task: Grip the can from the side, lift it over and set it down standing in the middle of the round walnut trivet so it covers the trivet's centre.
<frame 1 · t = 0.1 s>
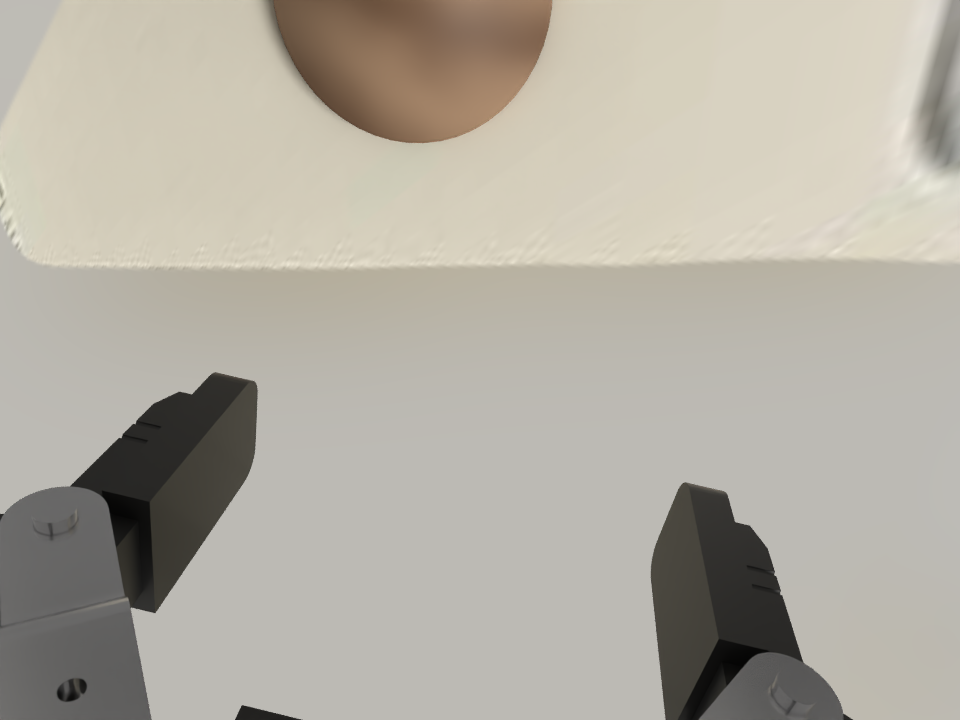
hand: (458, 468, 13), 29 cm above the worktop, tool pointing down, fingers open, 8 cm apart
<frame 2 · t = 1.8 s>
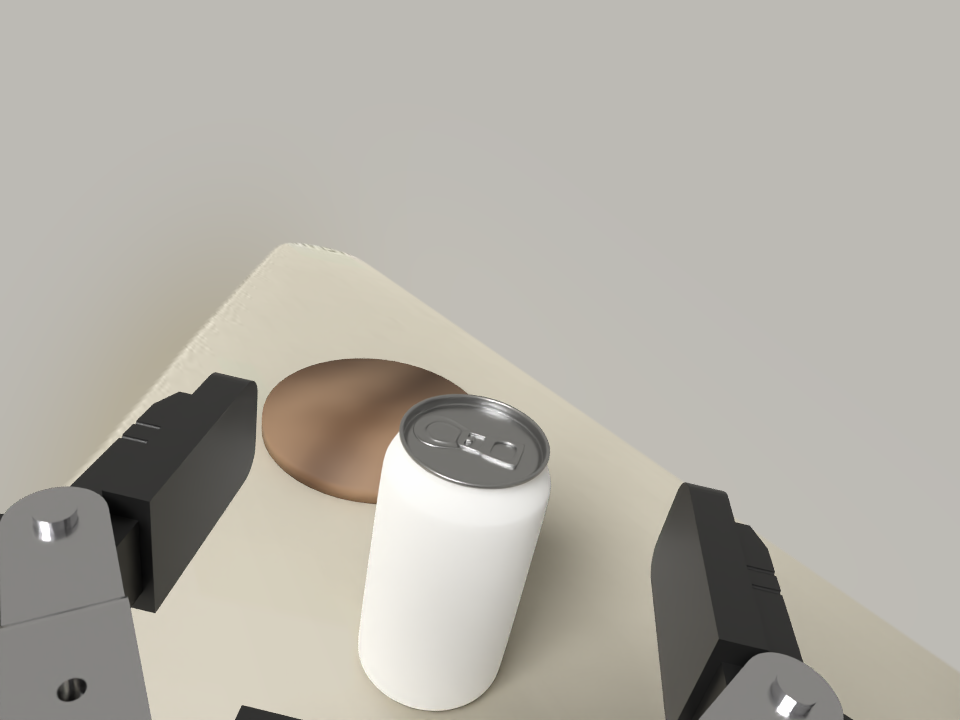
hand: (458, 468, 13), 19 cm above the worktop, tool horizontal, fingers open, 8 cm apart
can: (428, 653, 33), on the worktop
trivet: (376, 428, 46), on the worktop
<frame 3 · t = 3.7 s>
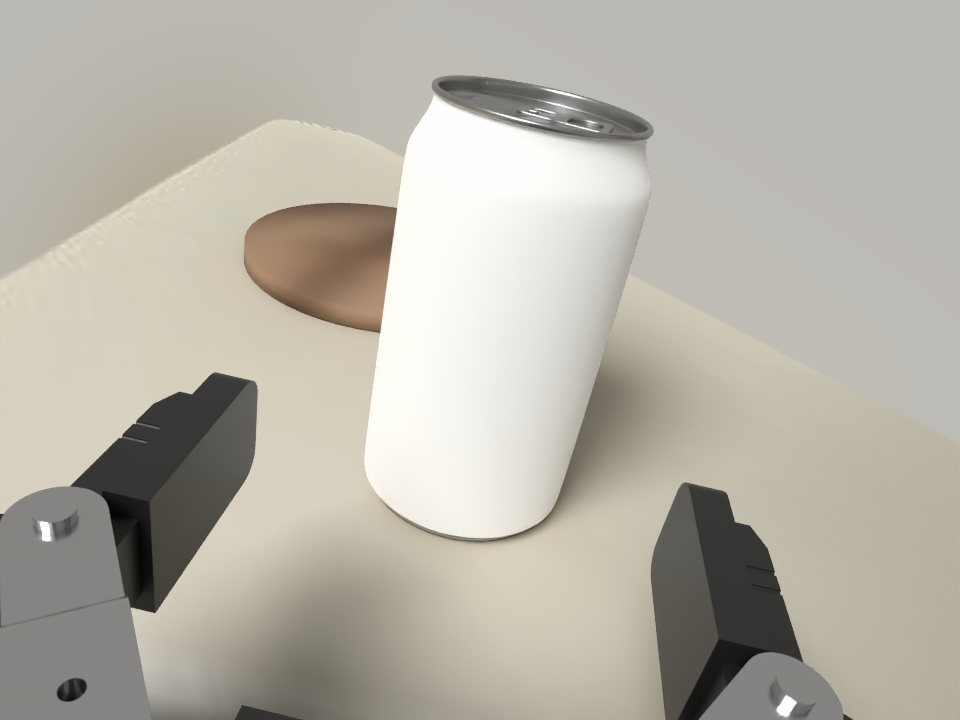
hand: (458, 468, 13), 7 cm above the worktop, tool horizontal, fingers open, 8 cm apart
can: (459, 482, 24), on the worktop
trivet: (386, 268, 37), on the worktop
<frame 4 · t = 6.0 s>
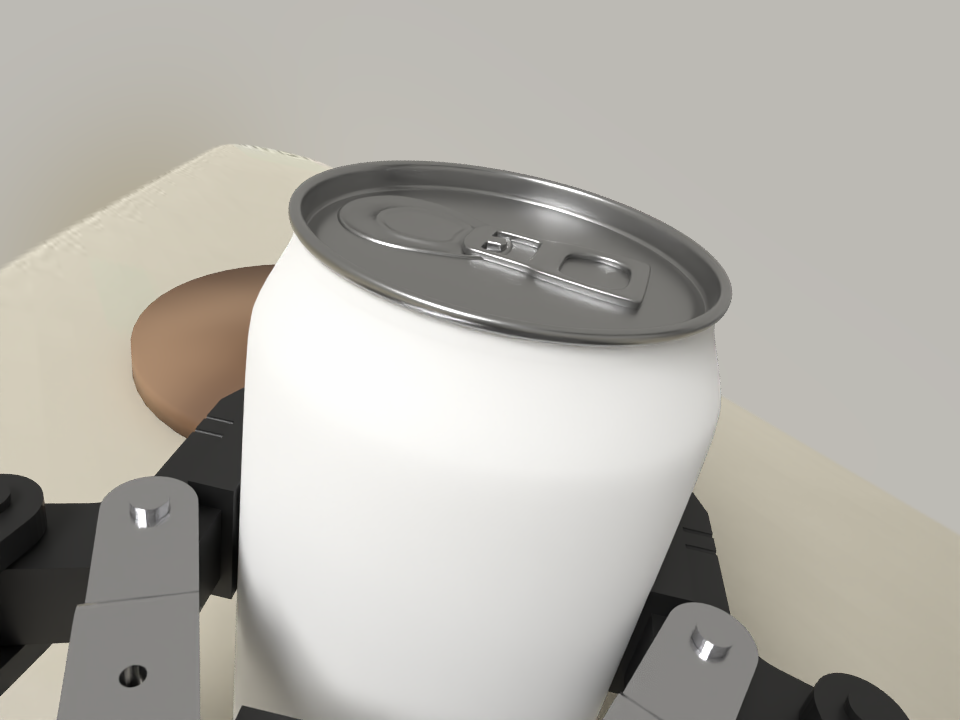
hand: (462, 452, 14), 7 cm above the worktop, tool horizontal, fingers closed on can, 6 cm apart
trivet: (328, 360, 29), on the worktop
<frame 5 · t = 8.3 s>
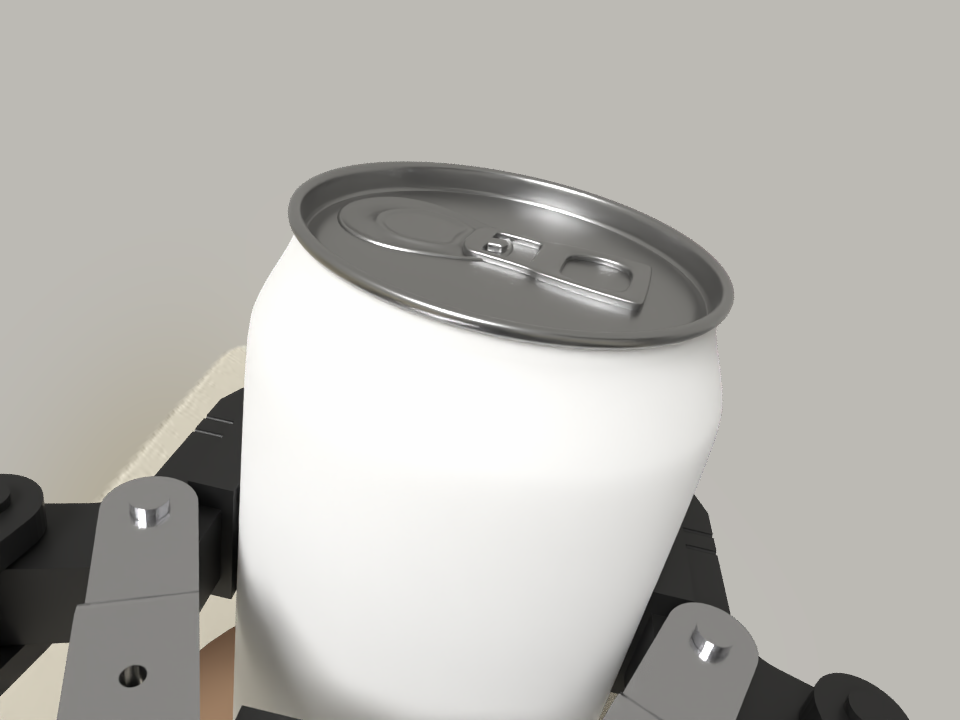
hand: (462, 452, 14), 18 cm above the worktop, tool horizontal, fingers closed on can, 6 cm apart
when the fingers open (9 cm above the worktop, at t = 10.9 s): can drops 1 cm, resting on trivet.
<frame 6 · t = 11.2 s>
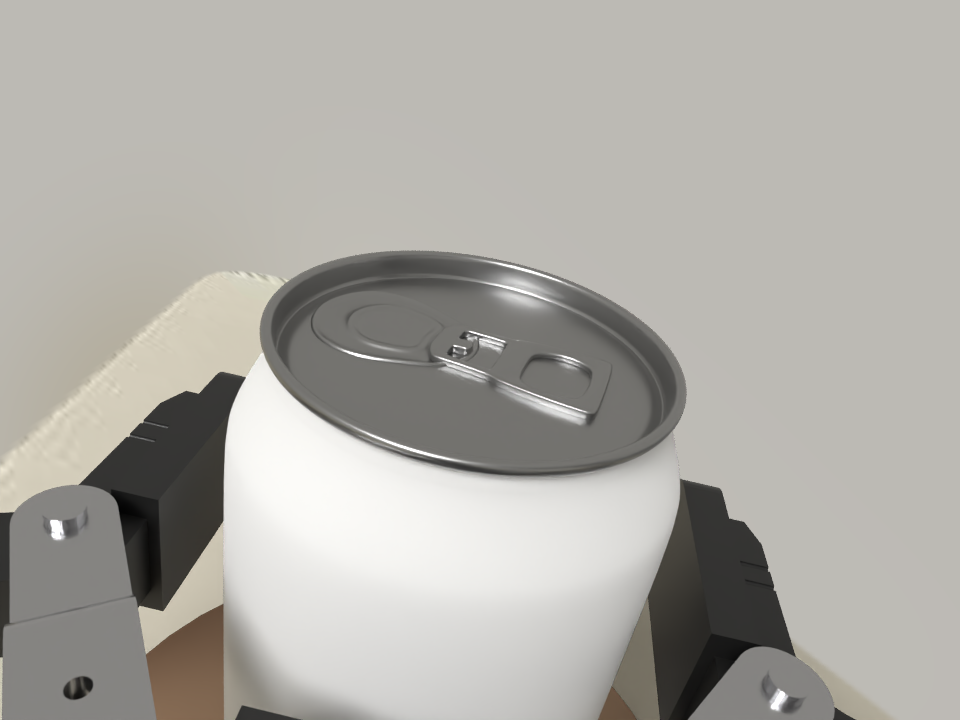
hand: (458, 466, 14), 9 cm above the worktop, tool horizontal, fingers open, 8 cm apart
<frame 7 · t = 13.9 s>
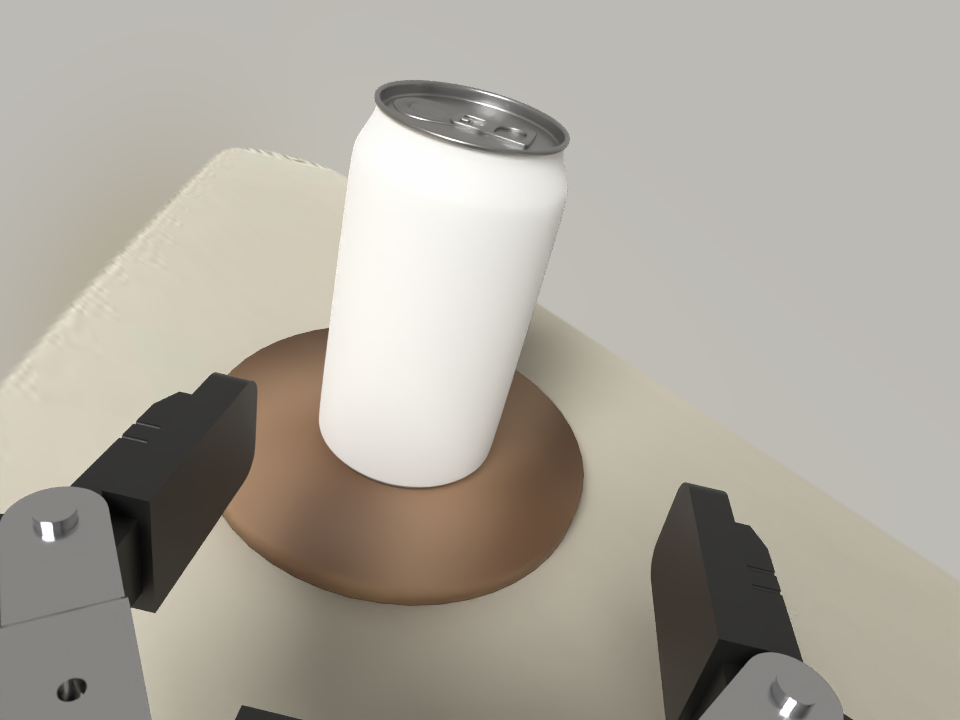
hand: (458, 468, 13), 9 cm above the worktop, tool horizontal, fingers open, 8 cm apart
can: (404, 436, 27), point 1 cm above the worktop, touching trivet
trivet: (399, 449, 28), on the worktop
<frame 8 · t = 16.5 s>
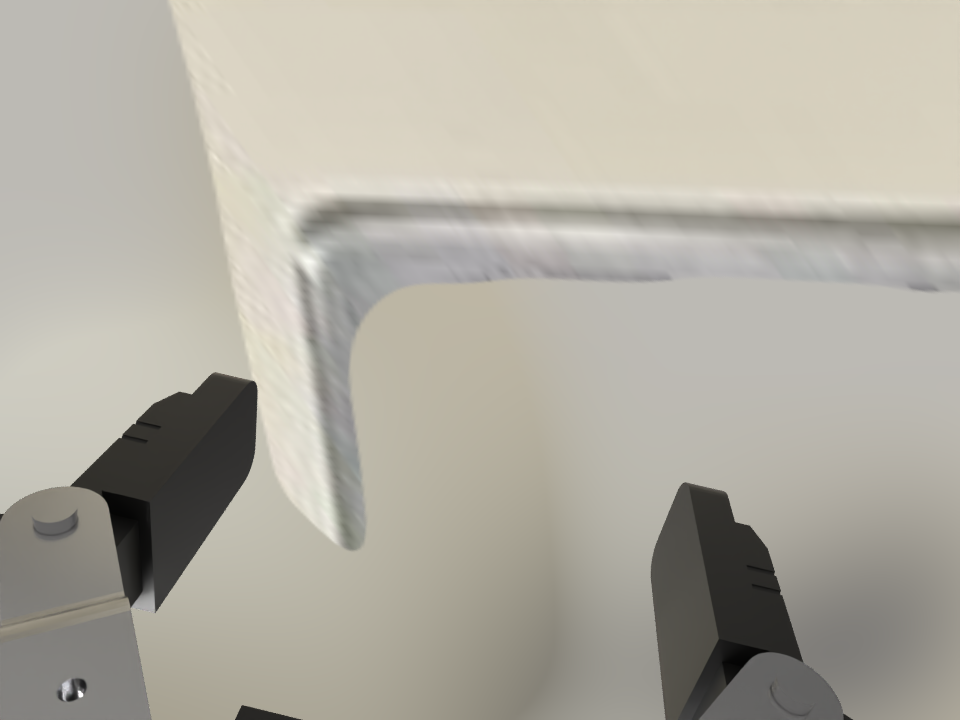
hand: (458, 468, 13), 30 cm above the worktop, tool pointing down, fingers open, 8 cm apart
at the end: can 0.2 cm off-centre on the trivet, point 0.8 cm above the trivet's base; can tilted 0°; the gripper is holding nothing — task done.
